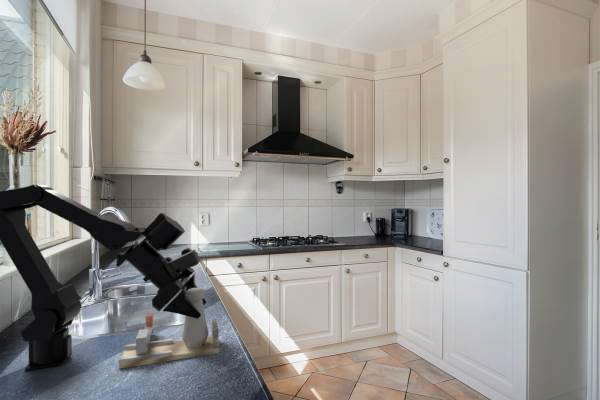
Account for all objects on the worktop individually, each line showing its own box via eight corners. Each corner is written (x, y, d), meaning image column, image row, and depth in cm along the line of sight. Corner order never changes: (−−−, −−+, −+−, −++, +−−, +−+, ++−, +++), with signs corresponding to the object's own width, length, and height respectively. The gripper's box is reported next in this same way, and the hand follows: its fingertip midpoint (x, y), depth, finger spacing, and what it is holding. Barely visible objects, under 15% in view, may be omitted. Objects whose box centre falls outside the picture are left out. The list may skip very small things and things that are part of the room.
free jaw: (135, 358, 67) (135, 338, 67) (146, 330, 82) (146, 313, 82) (146, 357, 68) (146, 336, 68) (154, 329, 83) (154, 312, 83)
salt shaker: (194, 352, 70) (193, 294, 70) (176, 347, 73) (176, 290, 73) (213, 342, 75) (213, 287, 75) (196, 337, 78) (196, 284, 78)
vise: (118, 368, 65) (118, 342, 65) (125, 353, 72) (125, 329, 72) (218, 352, 72) (218, 329, 72) (216, 339, 79) (216, 318, 79)
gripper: (168, 244, 64) (224, 295, 66) (185, 234, 82) (229, 275, 84) (126, 285, 63) (185, 336, 64) (153, 266, 81) (198, 306, 83)
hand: (202, 309), depth 74 cm, fingers open, 9 cm apart
